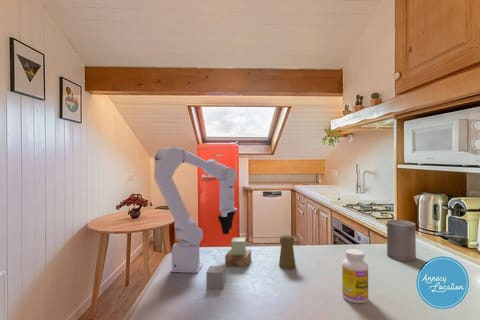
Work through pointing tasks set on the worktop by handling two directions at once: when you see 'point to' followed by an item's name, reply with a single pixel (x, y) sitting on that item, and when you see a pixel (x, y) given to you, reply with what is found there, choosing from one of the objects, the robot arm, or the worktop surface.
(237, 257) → the walnut block
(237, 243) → the green cube
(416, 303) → the worktop surface
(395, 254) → the pillar candle
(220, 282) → the grey cube
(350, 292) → the supplement bottle
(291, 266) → the cork
